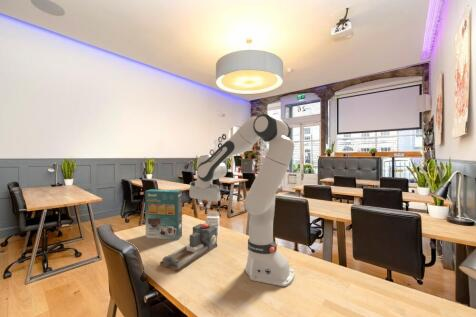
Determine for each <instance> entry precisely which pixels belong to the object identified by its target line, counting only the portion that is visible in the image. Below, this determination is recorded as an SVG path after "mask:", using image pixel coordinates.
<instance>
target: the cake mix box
mask: <svg viewBox="0 0 476 317" xmlns="http://www.w3.org/2000/svg"><path fill="white" fill-rule="evenodd" d="M144 192H145V193H144V196H145V198H144V202H145V205H144V206H145V207H144V208H145V210H144V211H145V213H144V214H145V238H147V239H159V240H160V239H161V240H174V241H175V240H180V238H182V236H183V198H182V197H183V196H182V195H183V191H182V190H181V189H180V190H179V189H178V190H177V189H156V188H155V189H154V188H151V189H148V190H145V191H144Z"/></svg>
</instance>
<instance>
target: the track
mask: <svg viewBox="0 0 476 317" xmlns="http://www.w3.org/2000/svg"><path fill="white" fill-rule="evenodd" d="M201 224H202V223H198V224H197V225H194V226H193V227H192V234H193V233H195V232H196V233H200V244H203V248H202V249H200V250H199V251H197V252H195V253H194V252H190V251H187V250H186V246H187V245H186V246H184V247H182V248H180V249H178V250H176V251H173V253H170V254H168V255H166V256H164V257H163V258H162V260H161V261H160V262H159V265H160V266H161V267H164V268H165V269H169V270H172V271H175V273H176V272H177V273H180V272H181V271H182V270H184V269H185V268H187V267H189V266H190V265H191V264H193V263H195V262H197V260H199V259H201V258H202V257H203V256H205V255H207V254H208V253H210V252H211V251H212V250H214V249H216V248H218V243H217V241H218V235H217V227H213V226H209V225H208V228H201Z"/></svg>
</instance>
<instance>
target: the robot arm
mask: <svg viewBox="0 0 476 317" xmlns="http://www.w3.org/2000/svg"><path fill="white" fill-rule="evenodd" d="M291 132H292V130H291V127H290V126H289V124H288V123H287V122H285V121H284V120H282V119H281V118H279V117H278V116H275V115H273V114H270V113H261V114H258V116H251V117H250V118H249V119H247V120H246V121H245V122H244V123H243V124H242V125H241V126H240V127H238V129H237V130H236V131H235V132H234V134H232V136H231V137H230V138H229V139H227V140H226V141H225V142H224V143H223V144H221V145H220V146H219V148H218V149H216V150H215V151H214V153H212V154H211V155H210V154H205V155H200V156H199V157H198V158H197V161H196V174H197V176H196V180H194V181H191V182H190V183H189V186H190V187H189V192H188V194H189V197H190V199H194V200H195V199H196V200H197V202H198V204H199V208H200V207H201V208H203V207H204V203H203V200H204V201H207V204H206V205H205V208H206V209H210V208H211V203H212V202H216V203H217V202H219V201H220V200H221V188H220V185H218V184H214V183H213V181H214V180H219V179H223V178H224V177H226V175H227V173H228V167H227V165H226V163H225V161H226V160H228V158H230V157H232V156H235V155H239V154H243V153H246V152H248V151H249V150H250V149H252V148H253V147H254V146H255V144H256V143H257V142H258V141H259V140H260V139H261V140H263V141H264V142H265V143H268V149H267V152H266V154H265V157H264V158H263V162H262V164H261V166H260V168H259V170H258V171H259V172H258V174H257V175H256V177H255V178H254V180H253V183H252V184H251V186H250V189H249V190H248V193H247V194H246V196H245V198H244V201H243V204H244V205H243V207H244V209H245V211H246V212H247V213H248V214H250V219H249V222H248V239H247V251H248V252H247V261H246V264H245V268H244V270H245V273H246V274H247V275H248V276H249V277H248V278H249V280H250V281H254V282H259V283H263V284H268V285H269V284H270V285H274V286H279V287H287V286H289V285H290V284H291V283H292V282H293V281H294V279H295V270H294V269H293V268H291V267H290V264H289V260H288V258H287V257H286V256H284V255H283V253H282V252H280V251H279V250H278V248H277V247H278V246H279V245H278V242H276V243H275V242H274V239H273V237H274V218H275V210H276V209H275V207H276V196H277V195H276V194H277V192H278V189H279V188H280V186H281V184H282V182H283V180H284V178H285V175H286V173H287V171H288V168H289V166H290V163H291V161H292V157H293V155H294V149H295V143H294V141H293V140H292V139H290V137H291Z"/></svg>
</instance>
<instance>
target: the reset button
mask: <svg viewBox="0 0 476 317" xmlns="http://www.w3.org/2000/svg"><path fill="white" fill-rule="evenodd" d="M200 224H201V228H208V224H206V222H205V223H200Z"/></svg>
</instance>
